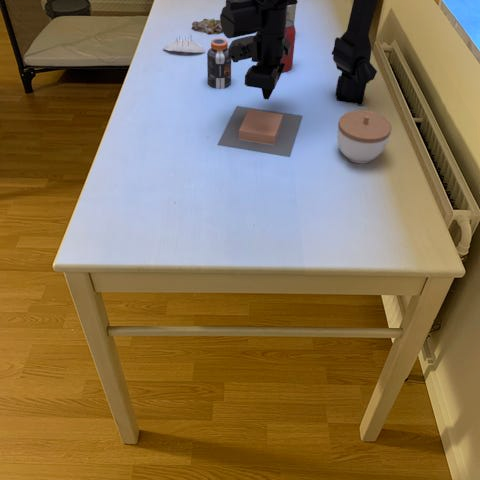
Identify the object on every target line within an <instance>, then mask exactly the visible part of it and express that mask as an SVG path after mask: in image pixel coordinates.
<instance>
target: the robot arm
mask: <svg viewBox="0 0 480 480" xmlns="http://www.w3.org/2000/svg"><path fill="white" fill-rule="evenodd" d="M298 1H299V0H225V6H223V7H222V9H221V13H220V14H219V20H220V23H221V28H222V31H223V32H222V33H223V34H224V36H225V37H226V38H227V39H229V40H231V39H233V38H236V39H233V40H232V41H231V42H230V44H229V46H228V49H229V50H228V51H229V55H228V57H229V58H231V62H233V63H238V62H239V61H243V60H250V59H251V62H253V63H256V64H252V65H251V66H250V67H249V68H248V69H247V71H246V73H245V75H244V86H245V87H250V88H256V89H261V93H262V96H263V100H270V97H271V96H272V93H273V91H274V90H275V89H276V86H277V84H278V82H279V79H280V78H281V75H282V73H283V72H282V71H283V69H284V66H285V64H284V63H281V62H282V60H283V57H284V55H285V56H287V57H288V56H289V54H290V50H291V43H290V42H289V41H288V39H285V38H286V35H287V31H286V30H285V29H286V17H287V6H289V5H294V4H296V5H298ZM377 3H378V0H353V2H352V6H351V9H350V10H351V11H350V14H349V20H348V23H347V24H348V25H347V29H346V31H345V32H344V33H343V34H342V35H341V36H340V37H336V38H335V39H334V46H333V49H332V52H331V55H333V57H332V59H333V62H334V64H335V65H336V66H335V67H336V69H337V70H339V71H340V72H341V74H340V75H338V77H337V84H336V87H335V97H336V102H337V101H338V102H345V103H349V104H350V103H351V104H355V105H356V104H357V105H358V106H363V104H364V100H365V92H366V87H367V84H369V83H370V81H373V80H374V79H375V78H376V75H377V73H378V70H376V68H375V66H374V65H373V64H372V63H371V55H372V44H371V40H370V31H371V27H372V23H373V20H374V19H373V18H374V16H375V15H374V14H375V11H376V7H377ZM253 34H254V35H253ZM247 35H248V36H247ZM243 36H244V37H243ZM239 37H240V38H239ZM285 51H286V52H285Z"/></svg>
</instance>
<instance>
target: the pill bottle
mask: <svg viewBox="0 0 480 480" xmlns="http://www.w3.org/2000/svg"><path fill="white" fill-rule="evenodd" d="M228 45H229V44H228V41H227V40H226V39H224V38H214V39H212V40H211V41H210V48H209V49H207V53H206V55H207V56H206V58H207V63H206V64H207V65H206V66H207V71H206V72H207V85H208V87H210V88H212V89H217V90H222V89H226V88H229V87H230V86H231V84H232V59H231V58H229V57H228V55H229V51H228V50H229V49H228V47H229V46H228Z"/></svg>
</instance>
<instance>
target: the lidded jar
mask: <svg viewBox="0 0 480 480" xmlns="http://www.w3.org/2000/svg"><path fill="white" fill-rule="evenodd" d="M392 128H393V127H392V124H391V122H390V121H389V120H388V119H387V118H386V117H385V116H383V115H381V114H379V113H376V112H373V111H370V110H352V111H349V112H345V113H344V114H343V115H342V116H340V118H339V120H338V127H337V135H336V137H337V145H338V148H339V150H340V152H341V153H342V154H343V155H344V156H345V157H346V158H347V160H348V161H350V162H352V163H355V164H367V163H369V162H371V161H372V160H374V159H376V158H377V157H378V156H380V155H381V154H382V152H383V151H384V149H385V148H386V147H387V144H388V142H389V141H388V140H389V138H390V135H391V133H392Z"/></svg>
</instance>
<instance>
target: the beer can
mask: <svg viewBox="0 0 480 480" xmlns="http://www.w3.org/2000/svg"><path fill="white" fill-rule="evenodd" d="M285 30H286V31H287V35H286V38H285V39H288V41H289V42H290V43H291V50H290V54H289V56H288V57H287V56H285V55H284V57H283V60H282V62H281V63H284V64H285V66H284V69H283V71H282V73H284V72H288V71H290V70H291V69H292V68H293V61H294V53H295V52H294V51H295V43H296V26H295V21H294V22H293V21H292V20H290V19H286V29H285ZM285 52H286V51H285Z"/></svg>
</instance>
